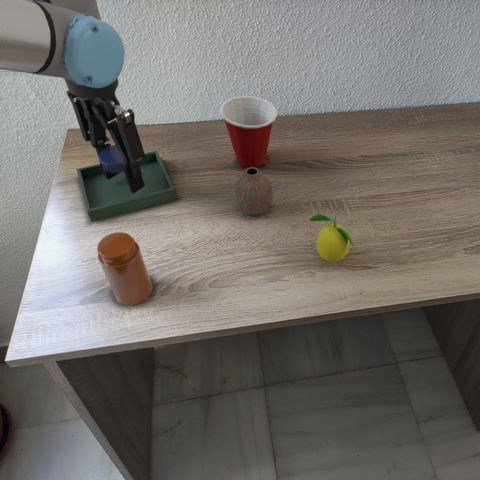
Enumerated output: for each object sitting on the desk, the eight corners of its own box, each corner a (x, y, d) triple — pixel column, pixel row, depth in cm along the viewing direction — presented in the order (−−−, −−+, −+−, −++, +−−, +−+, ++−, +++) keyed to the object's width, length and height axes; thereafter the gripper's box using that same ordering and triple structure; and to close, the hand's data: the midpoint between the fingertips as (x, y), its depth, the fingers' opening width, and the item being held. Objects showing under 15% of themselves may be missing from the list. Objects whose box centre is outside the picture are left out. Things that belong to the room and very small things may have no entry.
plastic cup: (276, 177, 94) (274, 126, 85) (222, 175, 94) (215, 123, 85) (280, 146, 101) (279, 95, 93) (230, 143, 101) (224, 92, 92)
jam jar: (119, 310, 70) (98, 264, 63) (111, 284, 74) (90, 237, 66) (156, 297, 72) (140, 251, 65) (147, 272, 76) (131, 225, 68)
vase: (249, 226, 84) (245, 189, 78) (229, 205, 88) (224, 168, 81) (280, 211, 87) (279, 173, 81) (260, 191, 91) (257, 154, 84)
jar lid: (139, 152, 87) (136, 143, 86) (134, 172, 83) (131, 163, 82) (104, 153, 87) (101, 144, 85) (97, 173, 83) (94, 165, 81)
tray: (91, 222, 83) (86, 211, 81) (80, 179, 91) (76, 168, 89) (176, 199, 88) (174, 188, 86) (159, 160, 96) (156, 150, 94)
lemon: (307, 248, 81) (309, 205, 74) (339, 241, 82) (344, 198, 75) (320, 277, 77) (323, 234, 69) (353, 269, 78) (360, 226, 71)
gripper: (149, 73, 70) (176, 191, 87) (67, 39, 77) (107, 154, 94) (109, 93, 66) (145, 213, 83) (26, 55, 73) (75, 173, 89)
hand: (125, 182), depth 88 cm, fingers closed on jar lid, 6 cm apart
